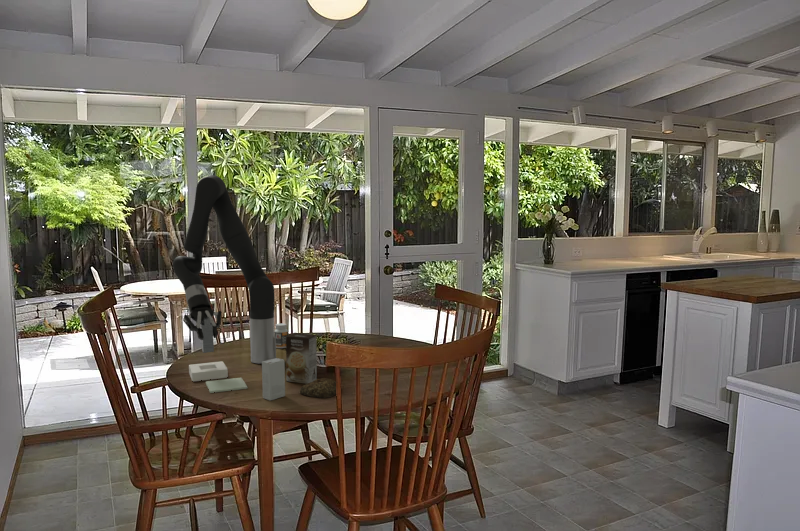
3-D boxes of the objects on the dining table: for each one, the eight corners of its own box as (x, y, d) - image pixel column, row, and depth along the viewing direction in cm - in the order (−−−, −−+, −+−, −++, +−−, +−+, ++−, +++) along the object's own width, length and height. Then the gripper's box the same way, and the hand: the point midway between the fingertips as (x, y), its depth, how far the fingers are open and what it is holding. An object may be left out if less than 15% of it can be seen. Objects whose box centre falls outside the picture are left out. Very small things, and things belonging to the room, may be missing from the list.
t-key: (212, 349, 221) (210, 316, 220) (214, 352, 217) (212, 318, 215) (202, 350, 220) (200, 317, 218) (203, 353, 215) (201, 319, 214)
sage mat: (241, 379, 214) (241, 377, 214) (247, 388, 203) (247, 386, 203) (205, 383, 209) (205, 381, 209) (210, 393, 198) (209, 391, 198)
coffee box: (285, 381, 211) (284, 336, 209) (294, 376, 217) (293, 332, 215) (309, 384, 208) (308, 337, 206) (317, 379, 214) (317, 334, 212)
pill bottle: (285, 349, 258) (284, 325, 257) (272, 348, 260) (272, 325, 259) (290, 345, 264) (289, 323, 263) (277, 345, 265) (277, 322, 264)
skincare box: (277, 393, 197) (276, 357, 196) (286, 396, 194) (285, 359, 193) (261, 398, 193) (260, 360, 191) (270, 401, 190) (269, 363, 189)
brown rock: (324, 401, 191) (324, 385, 190) (294, 394, 197) (294, 379, 197) (348, 390, 202) (348, 375, 201) (319, 384, 208) (319, 370, 208)
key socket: (223, 369, 227) (222, 361, 226) (227, 377, 216) (227, 369, 216) (189, 372, 222) (188, 364, 222) (192, 381, 211) (192, 373, 211)
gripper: (179, 295, 218) (190, 334, 210) (218, 291, 226) (230, 329, 217) (176, 307, 223) (186, 346, 215) (215, 303, 231) (226, 340, 222)
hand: (208, 337), depth 216 cm, fingers closed on t-key, 4 cm apart
